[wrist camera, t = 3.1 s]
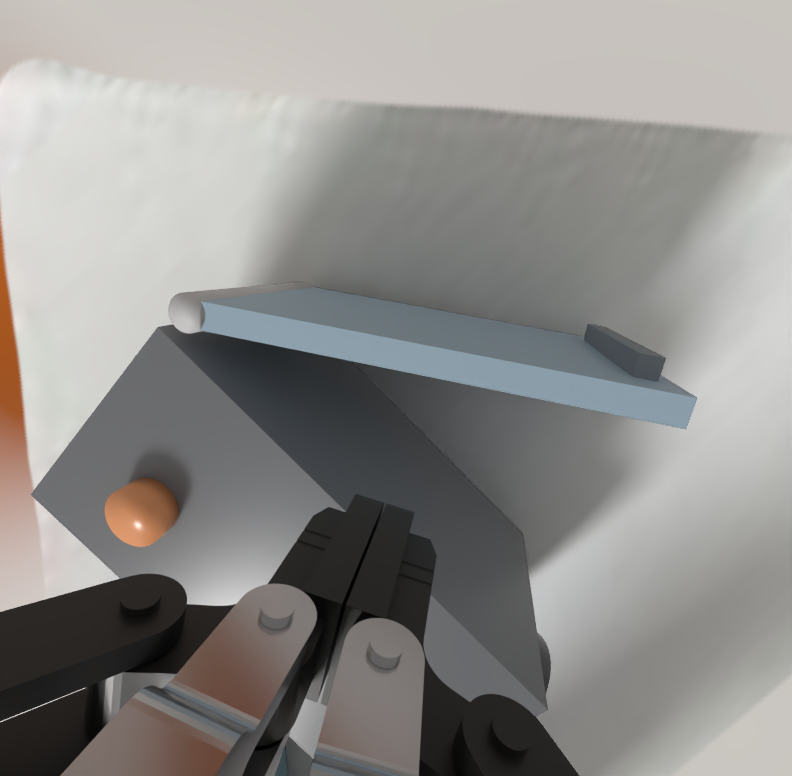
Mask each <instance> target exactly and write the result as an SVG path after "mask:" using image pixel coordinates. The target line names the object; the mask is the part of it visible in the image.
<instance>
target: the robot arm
mask: <svg viewBox="0 0 792 776" xmlns="http://www.w3.org/2000/svg"><path fill="white" fill-rule="evenodd" d="M383 507H384V502H381V501H378V500H374V499H371V498H368V497H365V496H362V495H359V494H355V496H354V498H353V500H352V501H351V503H350V505H349V507H348V509H347V511H346V512H343V511H340V510H337V509H334V508H331V507H328V508H326V509H324V510H322V511H321V512H319V513H317V514H315V515H313V517H312V518H311V520H310V521H309V523H308V524H307V526H306V527H305V529H304V531H303V532H302V533H301V535H300V536H299V538H298V539H297V542H296V543H295V544H294V545H293V547H292V548H291V550H290V551H289V553H288V554H287V556H286V557H285V559H284V560H283V562H282V563H281V565H280V566H279V568H278V569H277V571H276V572H275V574H274V575H273V577H272V578H271V580H270V581H269V583H268V584H267V585H262V586H259V587H256V588H254V589H252V590H250V591H249V592H247V593H246V594H245V595H244V596H243V597H242V598H241V599H240V600H239V601H238V602H237V604H234V605H227V606H210V605H194V604H187V594H186V591H185V589H184V588H183V586H182V585H181V584H180V583H179V582H178V581H176V580H174V579H173V578H170V577H168V576H164V575H160V574H138V575H133V576H129V577H125V578H121V579H118V580H114V581H111V582H107V583H103V584H100V585H96V586H93V587H89V588H85V589H82V590H78V591H75V592H71V593H67V594H64V595H60V596H56V597H53V598H49V599H46V600H42V601H38V602H35V603H31V604H28V605H24V606H20V607H17V608H14V609H10V610H6V611H3V612H0V721H2V720H4V719H7V718H9V717H12V716H15V715H17V714H20V713H22V712H25V711H27V710H30V709H32V708H35V707H37V706H40V705H42V704H45V703H47V702H50V701H52V700H55V699H57V698H60V697H62V696H65V695H67V694H70V693H72V692H75V691H77V690H80V689H82V688H85V687H86V688H85V689H83V690H80V691H78V692H75V693H73V694H70V695H68V696H65V697H63V698H60V699H58V700H55V701H53V702H50V703H48V704H46V705H43V706H41V707H38V708H36V709H33V710H31V711H28V712H26V713H23V714H21V715H18V716H16V717H13V718H11V719H8V720H6V721H3V722H1V723H0V776H271V774H272V771H273V769H274V767H275V765H276V763H277V761H278V759H279V757H280V755H281V753H282V751H283V749H284V747H285V745H286V743H287V740H288V738H289V734H290V730H291V728H292V727H293V725H294V723H295V721H296V719H297V717H298V714H299V712H300V709H301V707H302V705H303V702H304V700H305V699H308V700H311V701H313V702H316V703H317V701H318V699H319V696H320V693H321V691H322V688H323V685H324V683H325V680H326V677H327V680H326V684H325V688H324V692H323V696H322V700H321V703H320V704H322V705H325V706H327V709H326V713H325V717H324V720H323V724H322V728H321V732H320V735H319V739H318V743H317V747H316V750H315V754H314V758H313V762H312V766H311V769H310V773H309V776H579V775H578V773H577V772H576V771H575V769H574V768H573V767H572V765H571V764H570V763H569V761H568V760H567V758H566V757H565V756H564V754H563V753H562V752H561V750H560V749H559V748H558V746H557V745H556V743H555V742H554V741H553V739H552V738H551V737H550V735H549V734H548V732H547V731H546V730H545V728H544V727H543V726H542V724H541V723H540V722H539V721H538V719H537V718H536V717H535V716H534V715H533V714H532V713H531V712H530V711H529V710H528V709H526V708H525V707H524V706H523V705H521V704H520V703H518V702H516V701H515V700H513V699H510V698H508V697H505V696H502V695H498V694H484V695H480V696H478V697H476V698H474V699H473V700H472V701H471V702H469V701H468V700H466V699H465V698H464V697H462V696H461V695H459V694H458V693H456V692H455V691H454V690H452V689H451V688H450V687H448V686H447V685H446V684H445V683H443V682H442V681H441V680H440V679H439V678H438V676H437V675H436V674H435V673H434V671H433V670H432V668H431V667H430V665H429V663H428V661H427V658H426V655H425V652H424V635H425V628H426V622H427V615H428V609H429V603H430V596H431V590H432V583H433V577H434V570H435V564H436V557H437V555H436V552H435V550H434V547H433V545H432V542H431V540H430V539H428V538H425V537H421V536H418V535H415V534H412V533H409V532H410V528H411V524H412V521H413V517H414V513H415V512H413V511H410V510H407V509H403V508H400V507H397V506H394V505H391V504H388V503H386V506H385V508H384V510H383ZM382 511H383V513H382ZM381 515H382V516H381ZM328 672H329V673H328ZM327 675H328V676H327Z"/></svg>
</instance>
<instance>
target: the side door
mask: <svg viewBox="0 0 792 776" xmlns="http://www.w3.org/2000/svg"><path fill="white" fill-rule="evenodd" d="M168 312H169V317H170V320H171V322H172V323H173V325H174V326H175V327H176V328H177V329H178V330H180V331H181V332H184V333H188V334H191V333H196V332H200V331H206V332H211V333H215V334H220V335H225V336H230V337H235V338H240V339H245V340H250V341H255V342H260V343H265V344H270V345H274V346H279V347H284V348H289V349H294V350H299V351H304V352H309V353H314V354H319V355H324V356H329V357H333V358H338V359H343V360H348V361H353V362H358V363H363V364H368V365H373V366H378V367H383V368H387V369H392V370H397V371H402V372H407V373H412V374H417V375H422V376H427V377H432V378H437V379H442V380H446V381H451V382H456V383H461V384H466V385H471V386H476V387H481V388H486V389H491V390H496V391H501V392H505V393H510V394H515V395H520V396H525V397H530V398H535V399H540V400H545V401H550V402H555V403H559V404H564V405H569V406H574V407H579V408H584V409H589V410H594V411H599V412H604V413H609V414H614V415H618V416H623V417H628V418H633V419H638V420H643V421H648V422H653V423H658V424H663V425H668V426H672V427H677V428H682V429H686V428H687V425H688V422H689V420H690V417H691V414H692V411H693V409H694V406H695V403H696V400H697V397H695V396H693V395H692V394H690V393H689V392H687V391H685V390H684V389H682V388H681V387H679V386H677V385H676V384H674V383H673V382H671V381H669V380H668V379H666V378H665V377H663V376H661V375H660V374H661V371H662V368H663V365H664V362H665V359H666V358H665V357H663V356H661V355H659V354H657V353H655V352H653V351H651V350H649V349H647V348H645V347H643V346H641V345H639V344H637V343H635V342H633V341H631V340H629V339H628V338H626V337H624V336H622V335H620V334H618V333H616V332H614V331H612V330H610V329H608V328H606V327H602V326H597V325H591V324H588V326H587V330H586V333H585V337H583V336H577V335H572V334H567V333H561V332H556V331H550V330H545V329H539V328H534V327H528V326H523V325H517V324H512V323H507V322H501V321H496V320H490V319H485V318H479V317H474V316H468V315H463V314H458V313H452V312H447V311H441V310H436V309H430V308H425V307H419V306H414V305H409V304H403V303H398V302H392V301H387V300H381V299H376V298H370V297H365V296H359V295H354V294H349V293H343V292H338V291H332V290H327V289H321V288H316V287H313V286H312V285H311V284H310V283H308V282H296V283H285V284H274V285H263V286H252V287H241V288H229V289H218V290H207V291H196V292H185V293H179V294H177V295H175V296H174V297H173V298H172V300H171V301H170V304H169V309H168Z"/></svg>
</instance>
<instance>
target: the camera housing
mask: <svg viewBox="0 0 792 776" xmlns="http://www.w3.org/2000/svg"><path fill="white" fill-rule="evenodd" d="M355 494H359V495H362V496H365V497H368V498H371V499H374V500H378V501H381V502H384V507H383V510H384V508H385V506H386V503H388V504H391V505H394V506H397V507H400V508H403V509H407V510H410V511H413V512H415V513H414V517H413V521H412V524H411V528H410V532H409V533H412V534H415V535H418V536H421V537H425V538H428V539H430V540H431V542H432V545H433V547H434V550H435V552H436V555H437V557H436V564H435V570H434V577H433V583H432V590H431V596H430V603H429V609H428V615H427V622H426V628H425V635H424V652H425V655H426V658H427V661H428V663H429V665H430V667H431V668H432V670H433V671H434V673H435V674H436V675H437V676H438V678H439V679H440V680H441V681H442V682H443V683H445V684H446V685H447V686H448V687H450V688H451V689H452V690H454V691H455V692H456V693H458V694H459V695H461V696H462V697H464V698H465V699H466V700H468V701H469V702H471V701H472V700H473V699H474V698H476V697H478V696H480V695H484V694H498V695H502V696H505V697H508V698H510V699H513V700H515V701H516V702H518V703H520V704H521V705H523V706H524V707H525V708H526V709H528V710H529V711H530V712H531V713H532V714H533V715H534V716H535V717H536V716H538V715H539V714H541V713H543V712H545V711H546V710H548V708H547V701H546V691H547V688H548V684H549V679H550V670H551V661H550V654H549V650H548V647H547V645H546V642H545V641H544V639H543V638H542V637H541V636H540V635H539V634H538V633H537V630H536V623H535V616H534V609H533V601H532V594H531V587H530V580H529V573H528V566H527V559H526V552H525V545H524V538H523V533H522V532H521V531H520V530H519V529H518V528H517V527H516V526H515V525H514V524H513V523H512V522H511V521H510V520H509V519H508V518H507V517H506V516H505V515H504V514H503V513H502V512H501V511H500V510H499V509H498V508H497V507H496V506H495V505H494V504H493V503H492V502H491V501H490V500H489V499H488V498H487V497H486V496H485V495H484V494H483V493H482V492H481V491H480V490H479V489H478V488H477V487H476V486H475V485H474V484H473V483H472V482H471V481H470V480H469V479H468V478H467V477H466V476H465V475H464V474H463V473H462V472H461V471H460V470H459V469H458V468H457V467H456V466H455V465H454V464H453V463H452V462H451V461H450V460H449V459H448V458H447V457H446V456H445V455H444V454H443V453H442V452H441V451H440V450H439V449H438V448H437V447H436V446H435V445H434V444H433V443H432V442H431V441H430V440H429V439H428V438H427V437H426V436H425V435H424V434H423V433H422V432H421V431H420V430H419V429H418V428H417V427H416V426H415V425H414V424H413V423H412V422H411V421H410V420H409V419H408V418H407V417H406V416H405V415H404V414H403V413H402V412H401V411H400V410H399V409H398V408H397V407H396V406H395V405H394V404H393V403H392V402H391V401H390V400H389V399H388V398H387V397H386V396H385V395H384V394H383V393H382V392H381V391H380V390H379V389H378V388H377V387H376V386H375V385H374V384H373V383H372V382H371V381H370V380H369V379H368V378H367V377H366V376H365V375H364V374H363V373H362V372H361V371H360V370H359V369H358V368H357V367H356V366H355V365H354V364H353V363H352V361H348V360H343V359H338V358H333V357H329V356H324V355H319V354H314V353H309V352H304V351H299V350H294V349H289V348H284V347H279V346H274V345H270V344H265V343H260V342H255V341H250V340H245V339H240V338H235V337H230V336H225V335H220V334H215V333H211V332H206V331H200V332H196V333H191V334H188V333H184V332H181V331H180V330H178V329H177V328H176V327H175V326H174V325H173V324H172V325H167V326H162V327H158V328H157V329H156V330H155V332H154V333H153V334H152V336H151V337H150V338H149V339H148V341H147V342H146V343H145V345H144V346H143V347H142V349H141V350H140V351H139V353H138V354H137V355H136V357H135V358H134V359H133V361H132V362H131V363H130V364H129V366H128V367H127V368H126V370H125V371H124V372H123V374H122V375H121V376H120V378H119V379H118V380H117V382H116V383H115V384H114V386H113V387H112V388H111V390H110V391H109V392H108V393H107V395H106V396H105V397H104V399H103V400H102V401H101V403H100V404H99V405H98V407H97V408H96V409H95V411H94V412H93V413H92V415H91V416H90V417H89V419H88V420H87V421H86V422H85V424H84V425H83V426H82V428H81V429H80V430H79V432H78V433H77V434H76V436H75V437H74V438H73V440H72V441H71V442H70V444H69V445H68V446H67V448H66V449H65V450H64V451H63V453H62V454H61V455H60V457H59V458H58V459H57V461H56V462H55V463H54V465H53V466H52V467H51V469H50V470H49V471H48V473H47V474H46V475H45V477H44V478H43V479H42V480H41V482H40V483H39V484H38V486H37V487H36V488H35V490H34V491H33V492H32V494H31V495H32V496H33V497H34V498H35V499H36V500H37V501H38V502H39V503H40V504H41V505H42V506H43V507H44V508H45V509H47V510H48V511H49V512H50V513H51V514H52V515H53V516H54V517H55V518H56V519H57V520H58V521H59V522H60V523H61V524H63V525H64V526H65V527H66V528H67V529H68V530H69V531H70V532H71V533H72V534H73V535H74V536H75V537H76V538H77V539H79V540H80V541H81V542H82V543H83V544H84V545H85V546H86V547H87V548H88V549H89V550H90V551H91V552H92V553H94V554H95V555H96V556H97V557H98V558H99V559H100V560H101V561H102V562H103V563H104V564H105V565H106V566H107V567H108V568H110V569H111V570H112V571H113V572H114V573H115V574H116V575H117V576H118V577H119V578H120V579H121V578H125V577H129V576H133V575H138V574H160V575H164V576H168V577H170V578H173V579H174V580H176V581H178V582H179V583H180V584H181V585H182V586H183V588H184V589H185V591H186V594H187V604H194V605H210V606H227V605H234V604H237V602H238V601H239V600H240V599H241V598H242V597H243V596H244V595H245V594H246V593H247V592H249V591H250V590H252V589H254V588H256V587H259V586H262V585H267V584H268V583H269V581H270V580H271V578H272V577H273V575H274V574H275V572H276V571H277V569H278V568H279V566H280V565H281V563H282V562H283V560H284V559H285V557H286V556H287V554H288V553H289V551H290V550H291V548H292V547H293V545H294V544H295V543H296V542H297V539H298V538H299V536H300V535H301V533H302V532H303V531H304V529H305V527H306V526H307V524H308V523H309V521H310V520H311V518H312V517H313V515H315V514H317V513H319V512H321V511H322V510H324V509H326V508H328V507H331V508H334V509H337V510H340V511H343V512H346V511H347V509H348V507H349V505H350V503H351V501H352V500H353V498H354V496H355ZM382 513H383V511H382ZM381 516H382V515H381ZM328 673H329V672H328ZM327 676H328V675H327ZM326 680H327V677H326ZM326 680H325V683H324V685H323V688H322V691H321V693H320V696H319V699H318V701H317V703H316V702H313V701H311V700H308V699H305V700H304V702H303V705H302V707H301V709H300V712H299V714H298V717H297V719H296V721H295V723H294V725H293V727H292V728H291V730H290V734H289V737H290V738H291V739H292V740H293V741H294V742H295V743H296V744H297V745H298V746H300V747H301V748H302V749H303V750H304V751H305V752H306V753H307V754H308V755H309V756H310V757H311V758H312V759H313V758H314V754H315V750H316V747H317V743H318V739H319V735H320V732H321V728H322V724H323V720H324V717H325V713H326V709H327V706H325V705H322V704H320V703H321V700H322V696H323V692H324V688H325V684H326Z"/></svg>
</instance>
